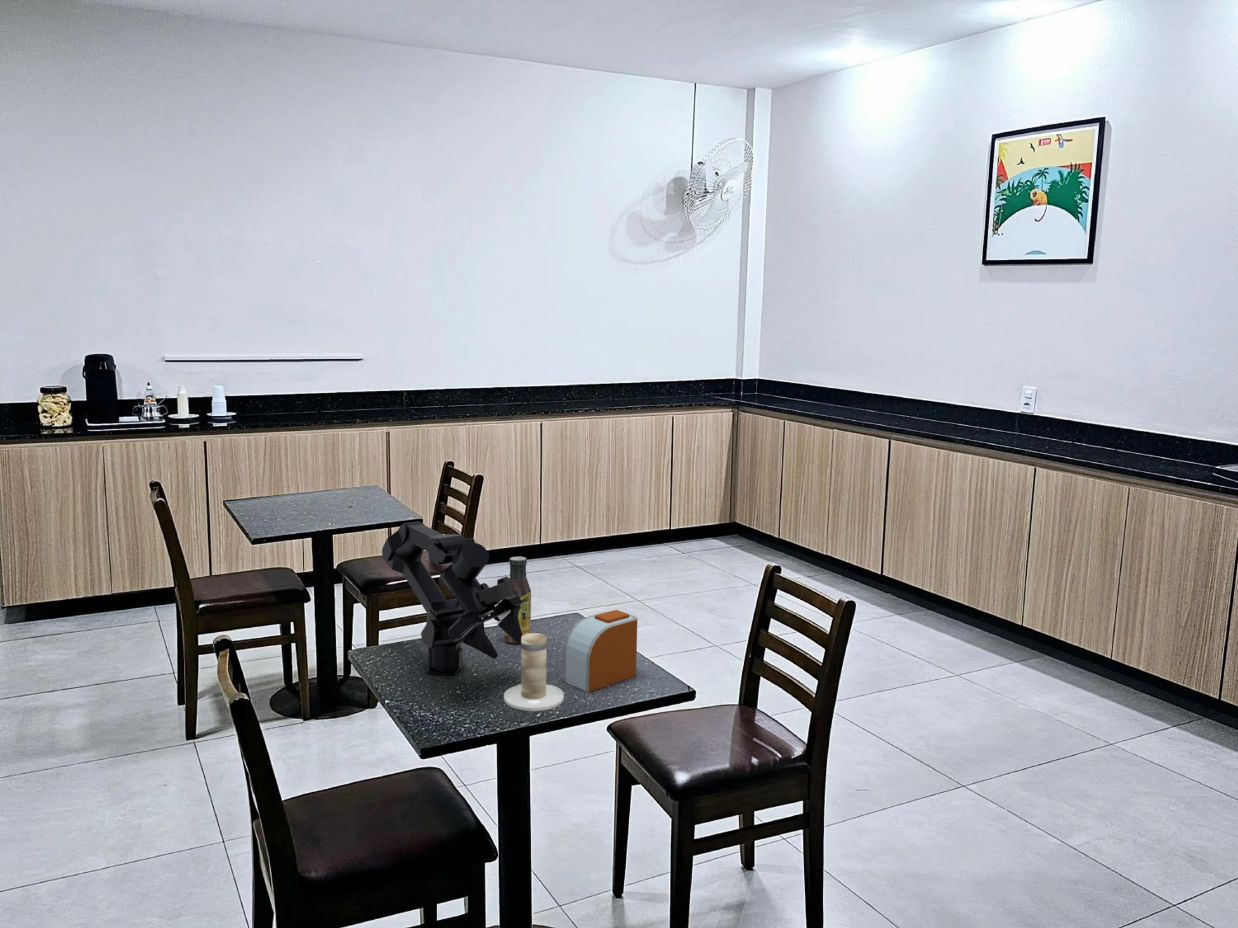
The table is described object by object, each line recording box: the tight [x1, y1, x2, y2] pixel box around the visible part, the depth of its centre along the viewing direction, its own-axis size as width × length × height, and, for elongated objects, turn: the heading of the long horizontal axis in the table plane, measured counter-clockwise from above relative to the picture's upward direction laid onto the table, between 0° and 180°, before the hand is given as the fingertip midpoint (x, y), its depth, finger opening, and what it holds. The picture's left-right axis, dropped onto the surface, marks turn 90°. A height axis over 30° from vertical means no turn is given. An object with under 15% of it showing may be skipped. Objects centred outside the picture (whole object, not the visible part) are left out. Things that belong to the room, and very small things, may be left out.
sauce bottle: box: [503, 556, 532, 645], centre depth 235 cm, size 7×6×20 cm
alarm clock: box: [562, 609, 638, 693], centre depth 213 cm, size 15×8×14 cm, turn 133°
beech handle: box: [520, 632, 548, 699], centre depth 201 cm, size 5×5×12 cm
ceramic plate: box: [503, 683, 565, 712], centre depth 202 cm, size 12×12×1 cm
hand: (510, 650), depth 203 cm, fingers open, 9 cm apart
